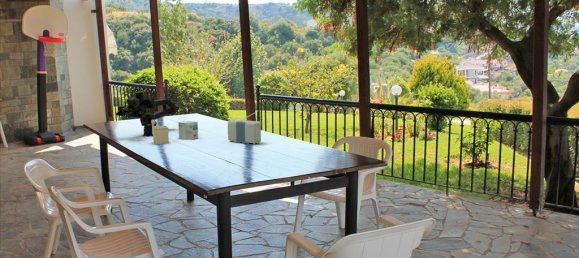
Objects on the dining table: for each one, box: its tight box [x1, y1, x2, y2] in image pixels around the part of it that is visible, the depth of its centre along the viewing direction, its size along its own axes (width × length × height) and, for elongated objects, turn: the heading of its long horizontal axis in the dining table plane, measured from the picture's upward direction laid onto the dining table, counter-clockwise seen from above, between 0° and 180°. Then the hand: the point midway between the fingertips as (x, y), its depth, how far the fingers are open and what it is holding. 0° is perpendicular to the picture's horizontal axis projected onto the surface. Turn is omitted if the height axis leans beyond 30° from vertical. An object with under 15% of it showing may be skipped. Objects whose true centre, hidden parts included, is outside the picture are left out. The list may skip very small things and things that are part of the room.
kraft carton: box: [152, 125, 170, 145], centre depth 337 cm, size 8×10×10 cm
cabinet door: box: [151, 120, 157, 136], centre depth 335 cm, size 2×9×9 cm, turn 19°
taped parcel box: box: [227, 110, 262, 145], centre depth 337 cm, size 21×8×20 cm, turn 56°
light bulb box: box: [177, 120, 199, 140], centre depth 352 cm, size 11×7×11 cm, turn 71°
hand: (121, 115), depth 340 cm, fingers open, 9 cm apart
